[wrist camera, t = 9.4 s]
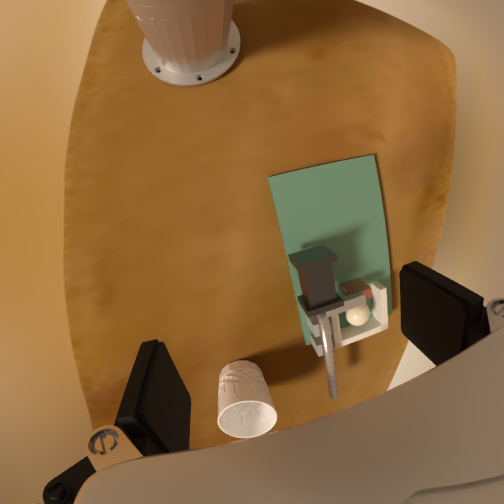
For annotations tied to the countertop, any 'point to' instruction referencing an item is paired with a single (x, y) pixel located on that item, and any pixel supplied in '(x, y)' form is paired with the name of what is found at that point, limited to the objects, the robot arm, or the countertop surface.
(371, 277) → the board
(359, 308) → the ball
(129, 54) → the countertop surface
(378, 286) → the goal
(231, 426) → the white cup
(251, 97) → the countertop surface
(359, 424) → the robot arm
